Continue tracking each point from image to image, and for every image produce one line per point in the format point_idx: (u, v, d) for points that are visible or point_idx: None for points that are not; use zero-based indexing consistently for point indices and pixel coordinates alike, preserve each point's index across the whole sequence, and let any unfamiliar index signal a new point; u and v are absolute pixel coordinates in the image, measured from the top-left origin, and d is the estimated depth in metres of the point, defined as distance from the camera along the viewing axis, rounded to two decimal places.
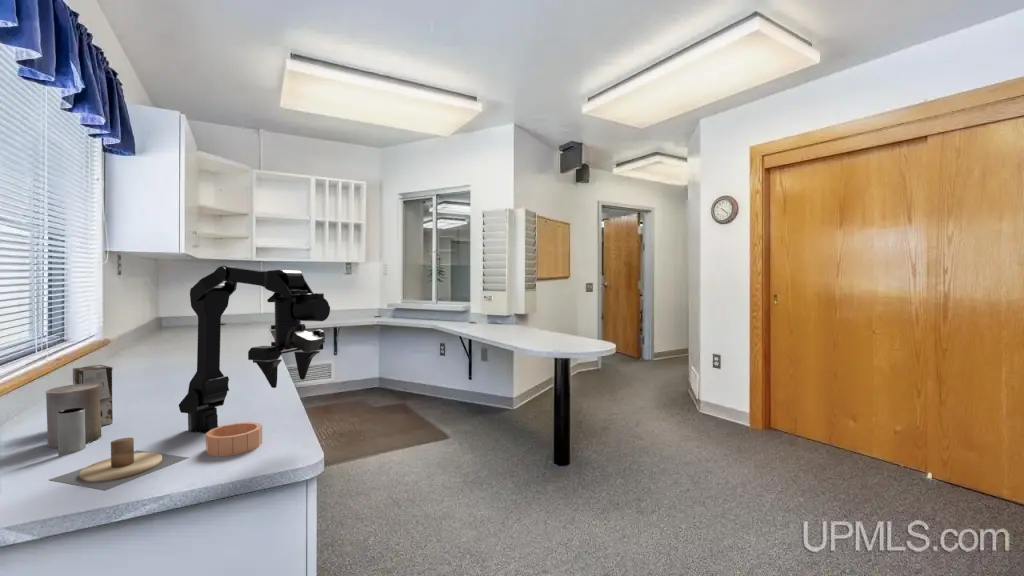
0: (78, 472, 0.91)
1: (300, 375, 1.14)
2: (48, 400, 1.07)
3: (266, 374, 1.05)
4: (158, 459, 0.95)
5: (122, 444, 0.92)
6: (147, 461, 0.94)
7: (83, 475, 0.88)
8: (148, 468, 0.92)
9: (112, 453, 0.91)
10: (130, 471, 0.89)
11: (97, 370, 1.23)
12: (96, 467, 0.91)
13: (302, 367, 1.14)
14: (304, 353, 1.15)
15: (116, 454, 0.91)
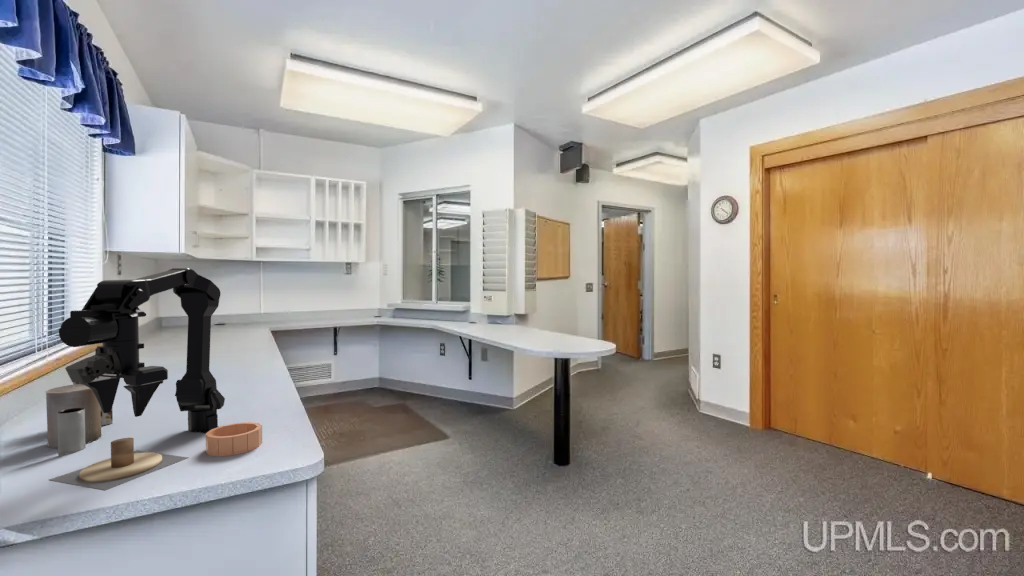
0: (78, 472, 0.91)
1: None
2: (48, 400, 1.07)
3: None
4: (158, 459, 0.95)
5: (122, 444, 0.92)
6: (147, 461, 0.94)
7: (83, 475, 0.88)
8: (148, 468, 0.92)
9: (112, 453, 0.91)
10: (130, 471, 0.89)
11: None
12: (96, 467, 0.91)
13: None
14: None
15: (116, 454, 0.91)
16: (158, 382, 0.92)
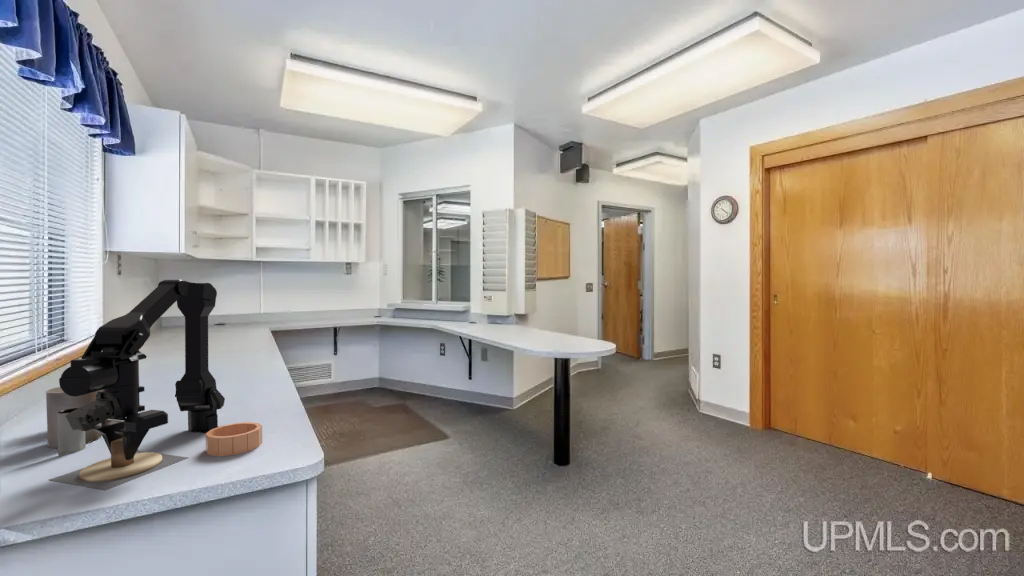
0: (78, 472, 0.91)
1: None
2: (48, 400, 1.07)
3: None
4: (158, 459, 0.95)
5: (122, 444, 0.92)
6: (147, 461, 0.94)
7: (83, 475, 0.88)
8: (148, 468, 0.92)
9: (112, 453, 0.91)
10: (130, 471, 0.89)
11: None
12: (96, 467, 0.91)
13: None
14: None
15: (116, 454, 0.91)
16: None
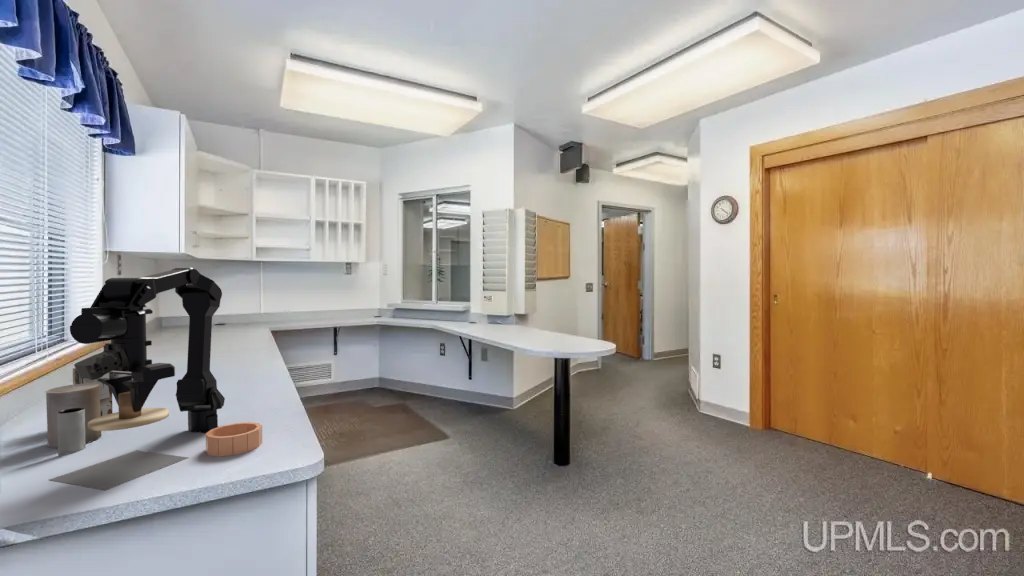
0: (78, 472, 0.91)
1: None
2: (48, 400, 1.07)
3: None
4: (165, 413, 0.96)
5: (129, 396, 0.92)
6: (154, 414, 0.95)
7: (91, 424, 0.88)
8: (155, 420, 0.92)
9: (119, 405, 0.92)
10: (137, 422, 0.90)
11: None
12: (104, 419, 0.92)
13: None
14: None
15: (124, 406, 0.92)
16: None
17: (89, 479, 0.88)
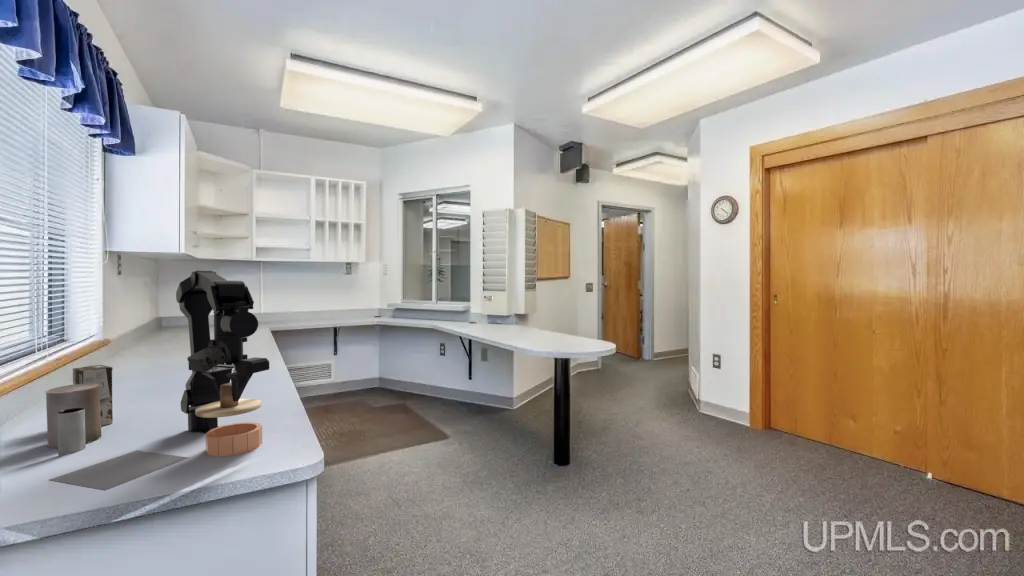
0: (78, 472, 0.91)
1: None
2: (48, 400, 1.07)
3: None
4: (258, 402, 1.07)
5: (230, 387, 1.03)
6: (250, 404, 1.06)
7: (200, 412, 0.99)
8: (253, 409, 1.03)
9: (221, 395, 1.02)
10: (239, 410, 1.01)
11: (97, 370, 1.23)
12: (207, 407, 1.03)
13: None
14: None
15: (225, 396, 1.02)
16: None
17: (89, 479, 0.88)
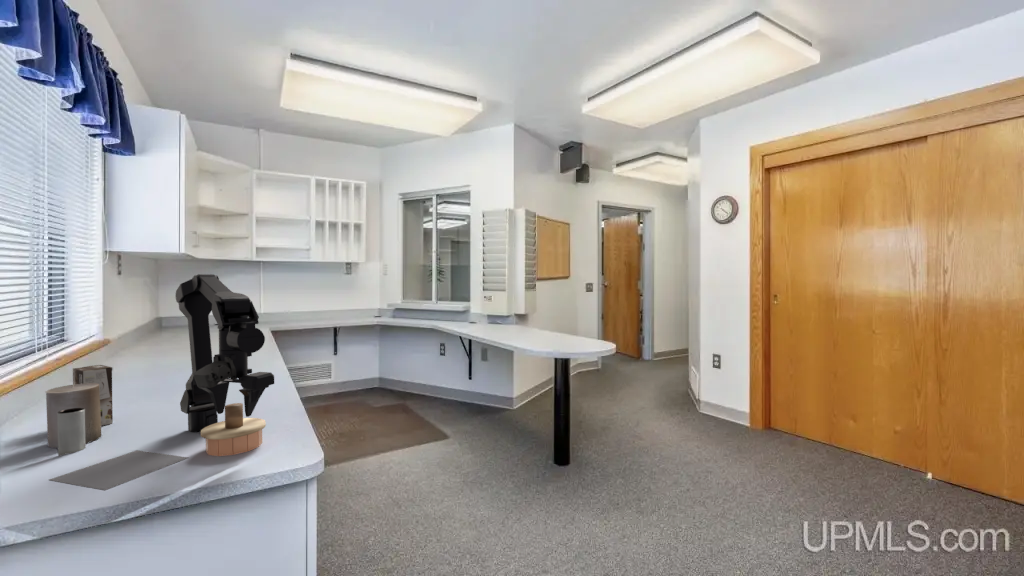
0: (78, 472, 0.91)
1: None
2: (48, 400, 1.07)
3: None
4: (263, 422, 1.07)
5: (235, 408, 1.03)
6: (254, 424, 1.06)
7: (205, 434, 1.00)
8: (258, 429, 1.04)
9: (226, 416, 1.03)
10: (245, 431, 1.01)
11: (97, 370, 1.23)
12: (212, 428, 1.03)
13: None
14: None
15: (231, 417, 1.03)
16: (265, 386, 1.04)
17: (89, 479, 0.88)
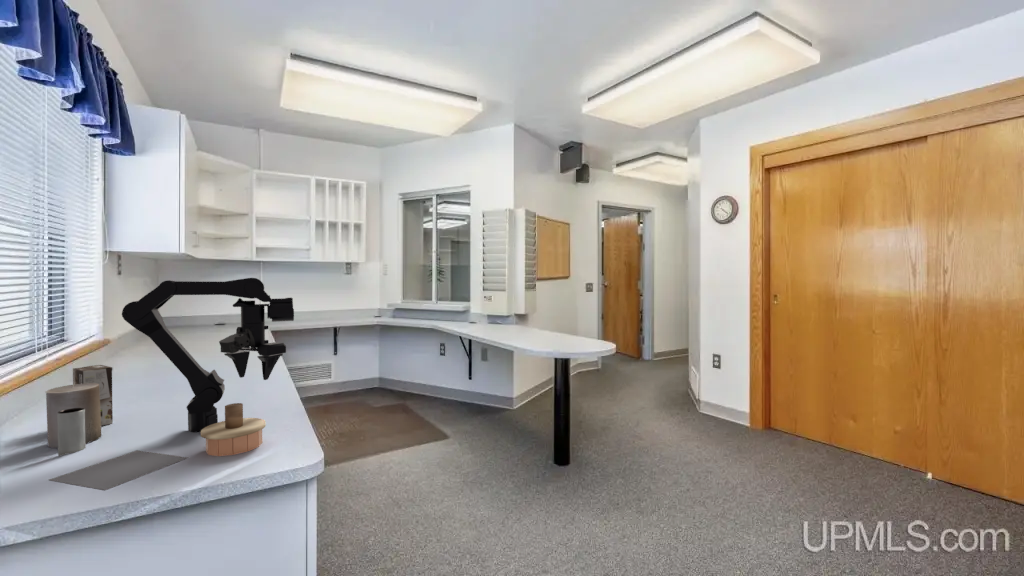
0: (78, 472, 0.91)
1: None
2: (48, 400, 1.07)
3: None
4: (263, 422, 1.07)
5: (235, 408, 1.03)
6: (254, 424, 1.06)
7: (205, 434, 1.00)
8: (258, 429, 1.04)
9: (226, 416, 1.03)
10: (245, 431, 1.01)
11: (97, 370, 1.23)
12: (212, 428, 1.03)
13: None
14: None
15: (231, 417, 1.03)
16: (279, 354, 1.23)
17: (89, 479, 0.88)
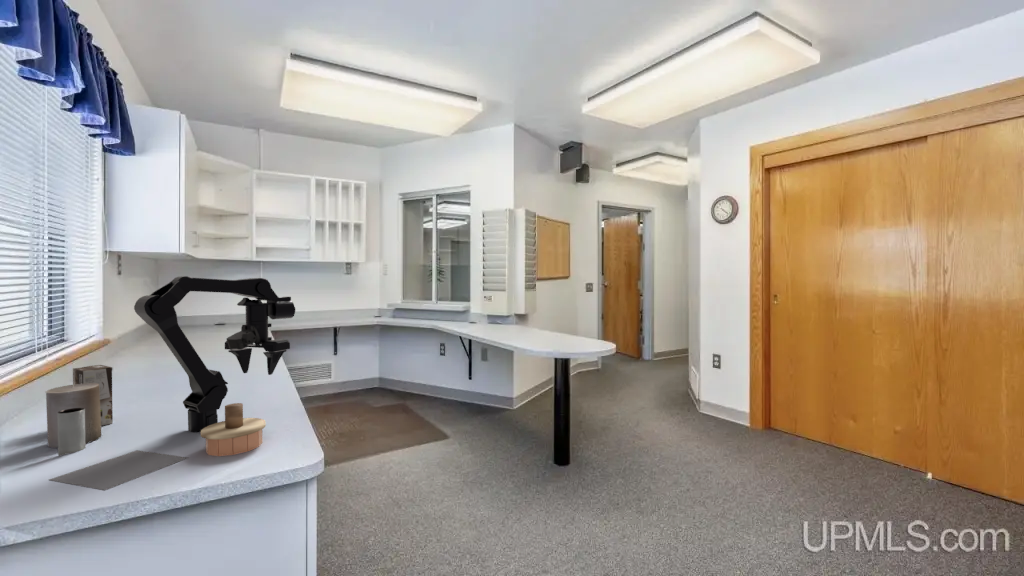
0: (78, 472, 0.91)
1: None
2: (48, 400, 1.07)
3: None
4: (263, 422, 1.07)
5: (235, 408, 1.03)
6: (254, 424, 1.06)
7: (205, 434, 1.00)
8: (258, 429, 1.04)
9: (226, 416, 1.03)
10: (245, 431, 1.01)
11: (97, 370, 1.23)
12: (212, 428, 1.03)
13: None
14: None
15: (231, 417, 1.03)
16: (284, 350, 1.30)
17: (89, 479, 0.88)
